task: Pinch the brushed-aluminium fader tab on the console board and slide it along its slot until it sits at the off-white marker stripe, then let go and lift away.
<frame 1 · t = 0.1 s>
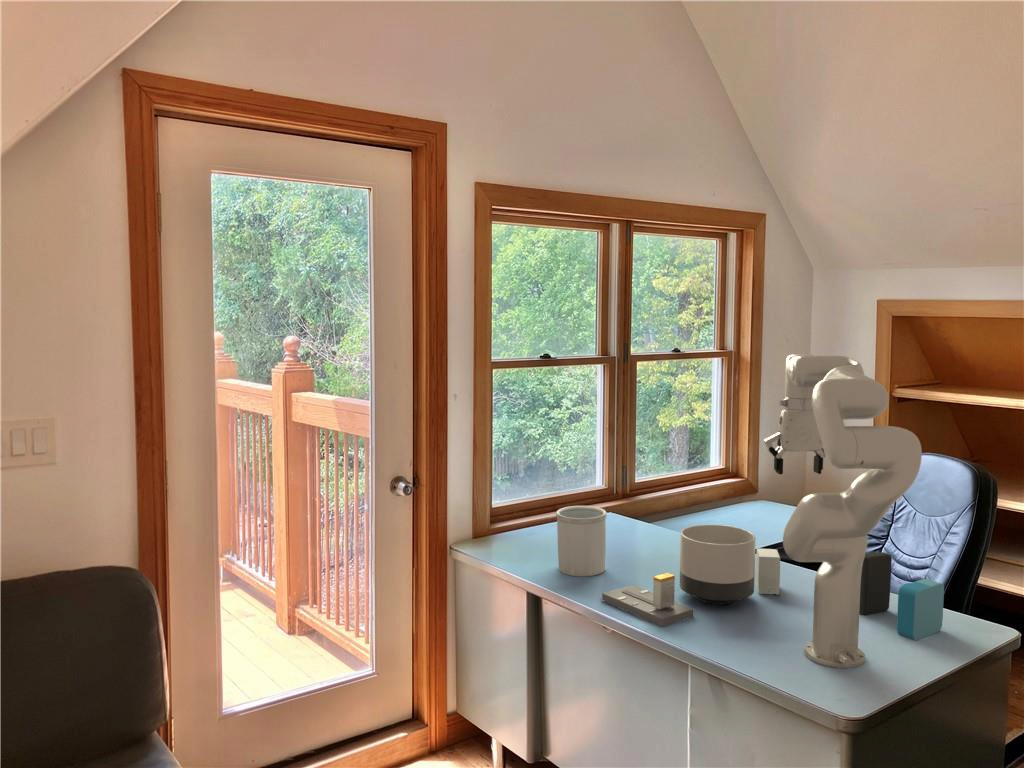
hand: (798, 473, 207), 37 cm above the table, tool pointing down, fingers open, 9 cm apart
planter: (716, 599, 223), on the table
small box: (767, 590, 229), on the table
card reader: (871, 612, 214), on the table
console board: (646, 608, 216), on the table
fader tab: (663, 591, 210), point 6 cm above the table, slide at -6.0 cm
utensil holder: (580, 570, 247), on the table
data package: (919, 633, 200), on the table
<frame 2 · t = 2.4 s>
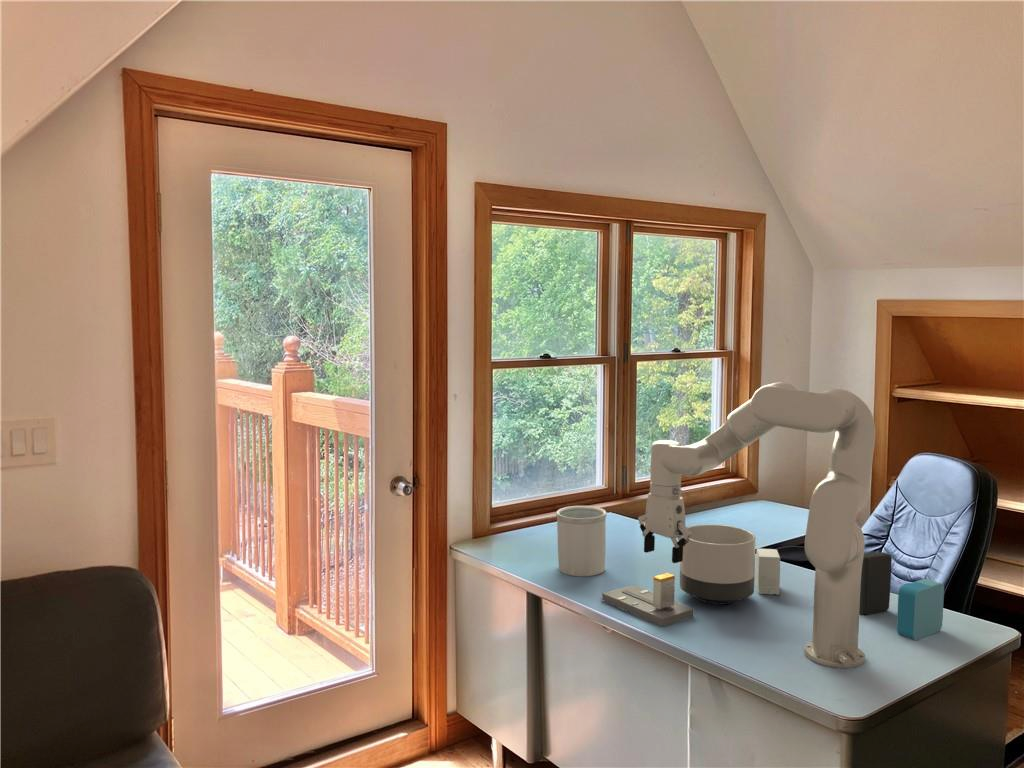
hand: (662, 556, 210), 15 cm above the table, tool pointing down, fingers open, 9 cm apart
nothing on the table moved.
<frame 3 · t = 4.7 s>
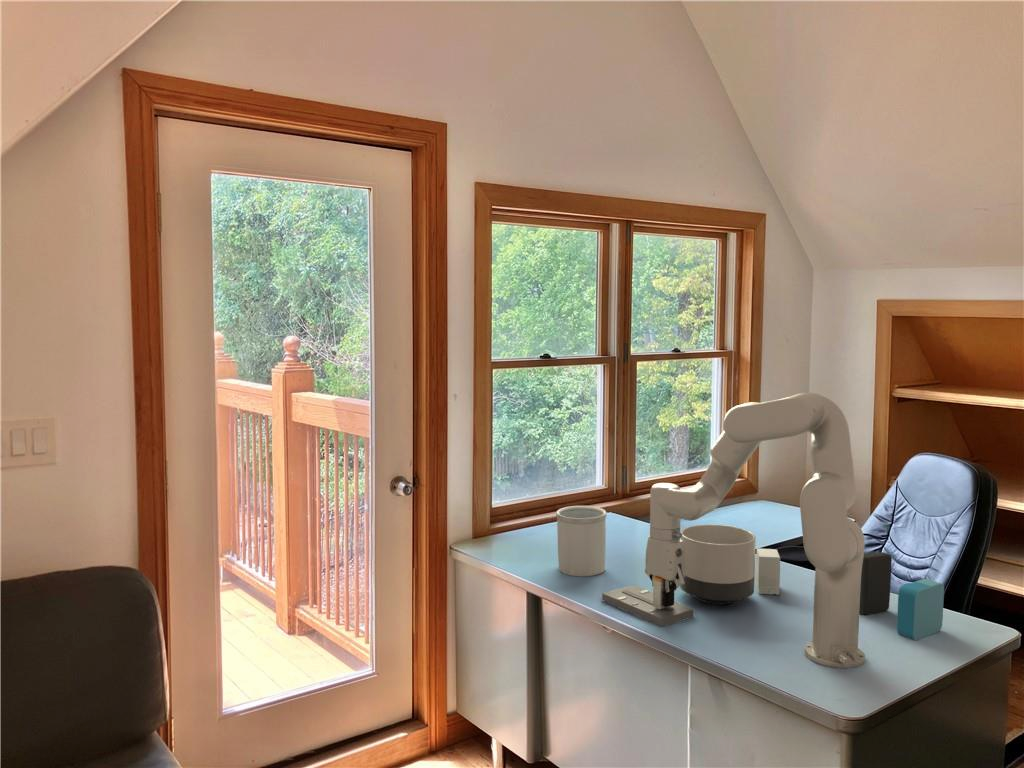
hand: (663, 603, 211), 3 cm above the table, tool pointing down, fingers closed on fader tab, 2 cm apart
fader tab: (663, 591, 210), point 6 cm above the table, slide at -6.0 cm, touching gripper
everything else where it was.
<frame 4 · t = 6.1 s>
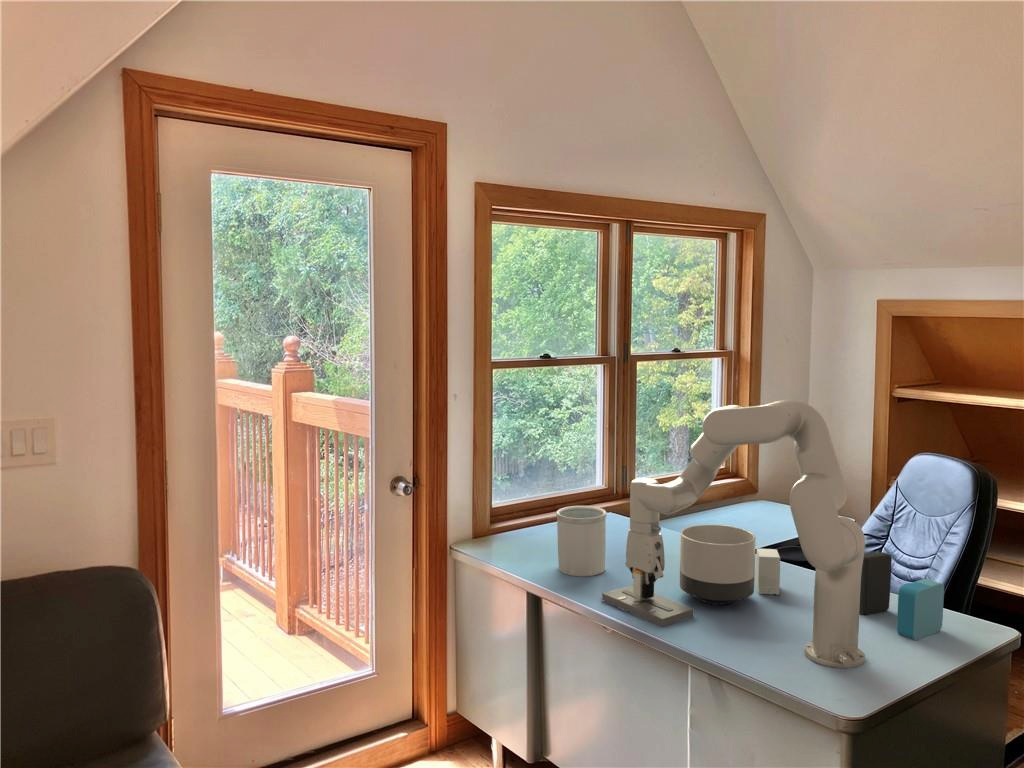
hand: (643, 595, 217), 3 cm above the table, tool pointing down, fingers closed on fader tab, 2 cm apart
fader tab: (643, 583, 216), point 6 cm above the table, slide at 1.2 cm, touching gripper
everything else where it was.
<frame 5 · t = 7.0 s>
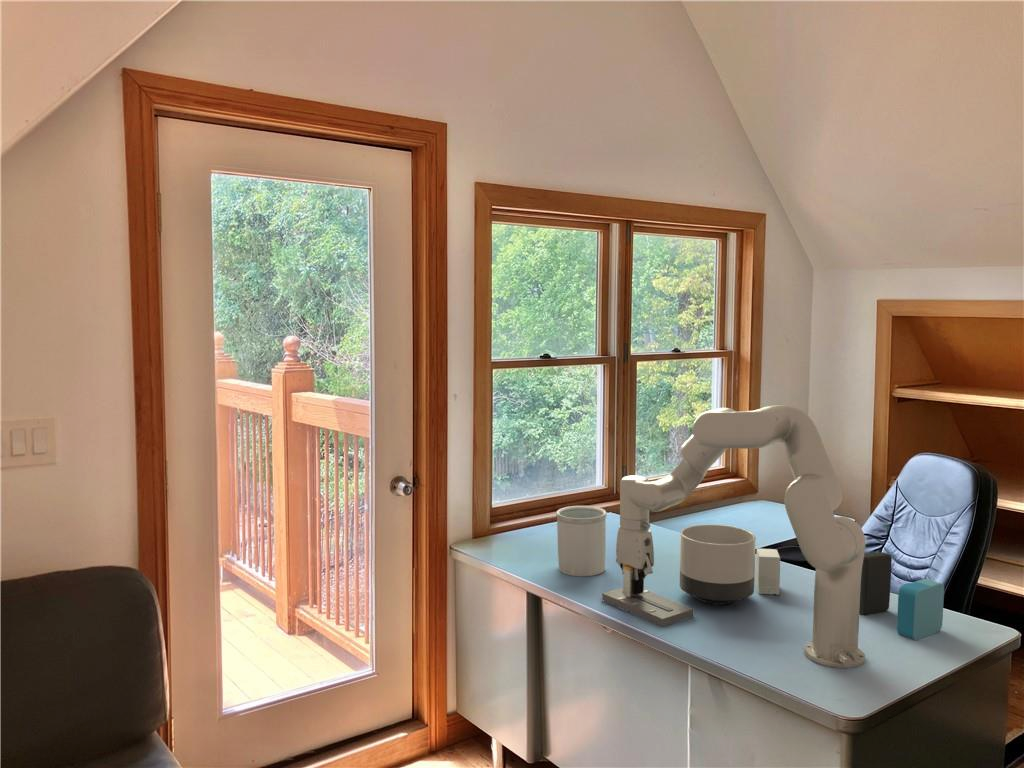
hand: (633, 591, 220), 3 cm above the table, tool pointing down, fingers closed on fader tab, 2 cm apart
fader tab: (633, 579, 219), point 6 cm above the table, slide at 4.9 cm, touching gripper
everything else where it was.
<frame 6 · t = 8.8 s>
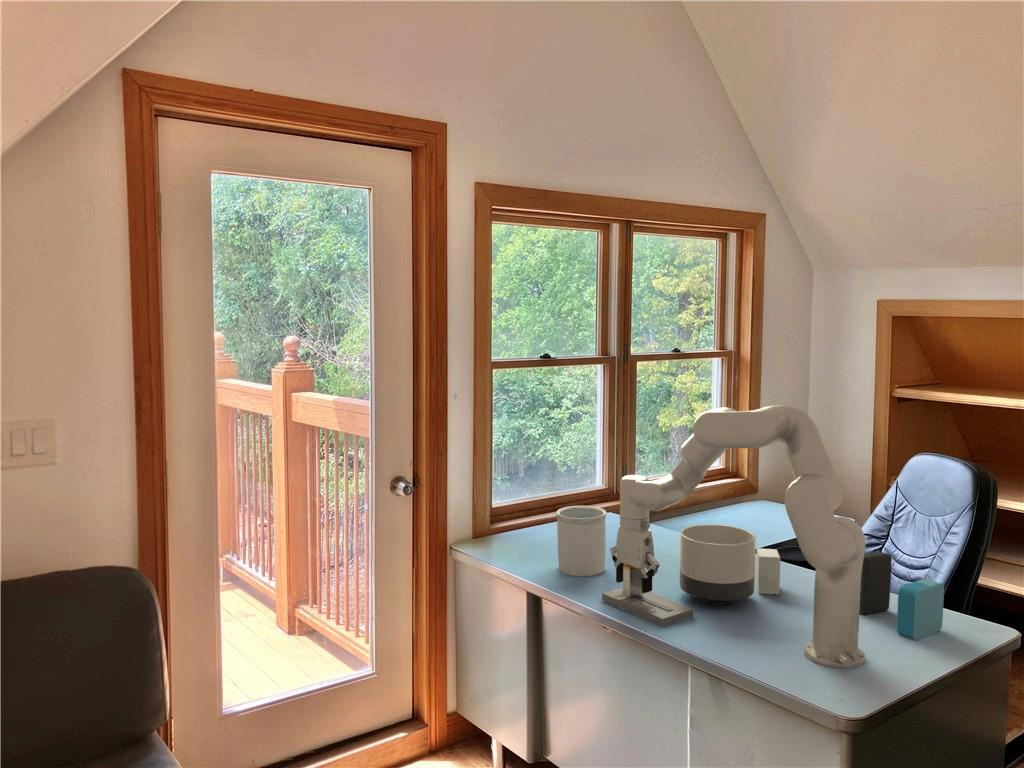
hand: (633, 586, 219), 4 cm above the table, tool pointing down, fingers open, 9 cm apart
fader tab: (633, 579, 219), point 6 cm above the table, slide at 5.0 cm
everything else where it was.
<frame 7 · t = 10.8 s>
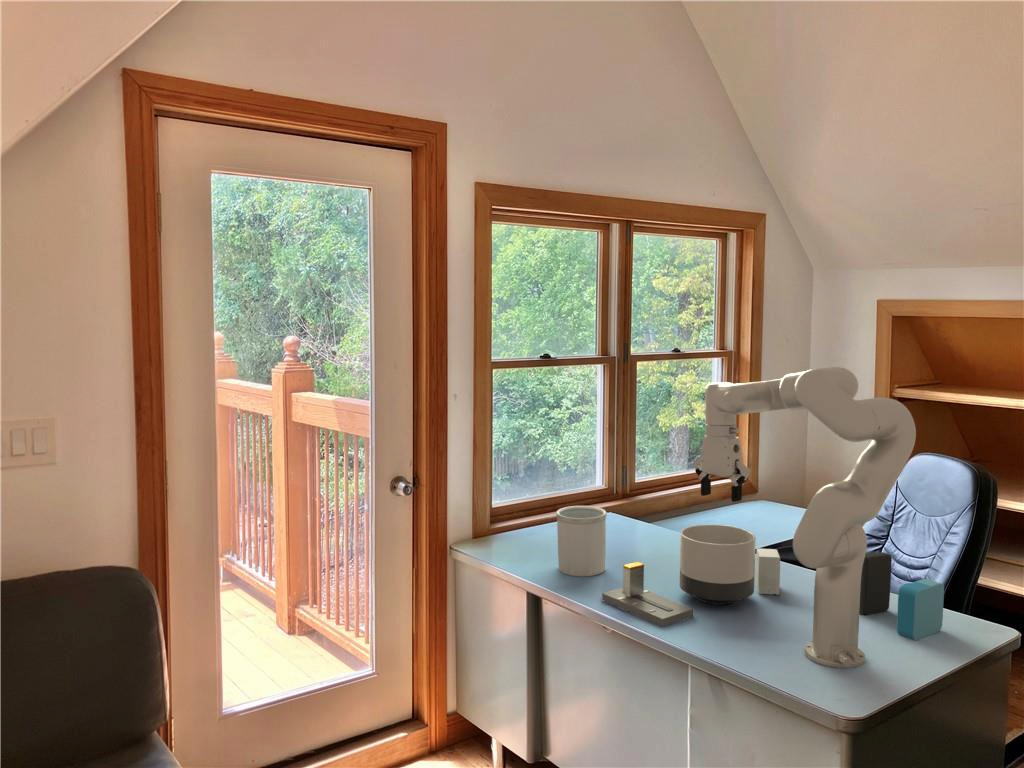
hand: (720, 497, 212), 29 cm above the table, tool pointing down, fingers open, 9 cm apart
nothing on the table moved.
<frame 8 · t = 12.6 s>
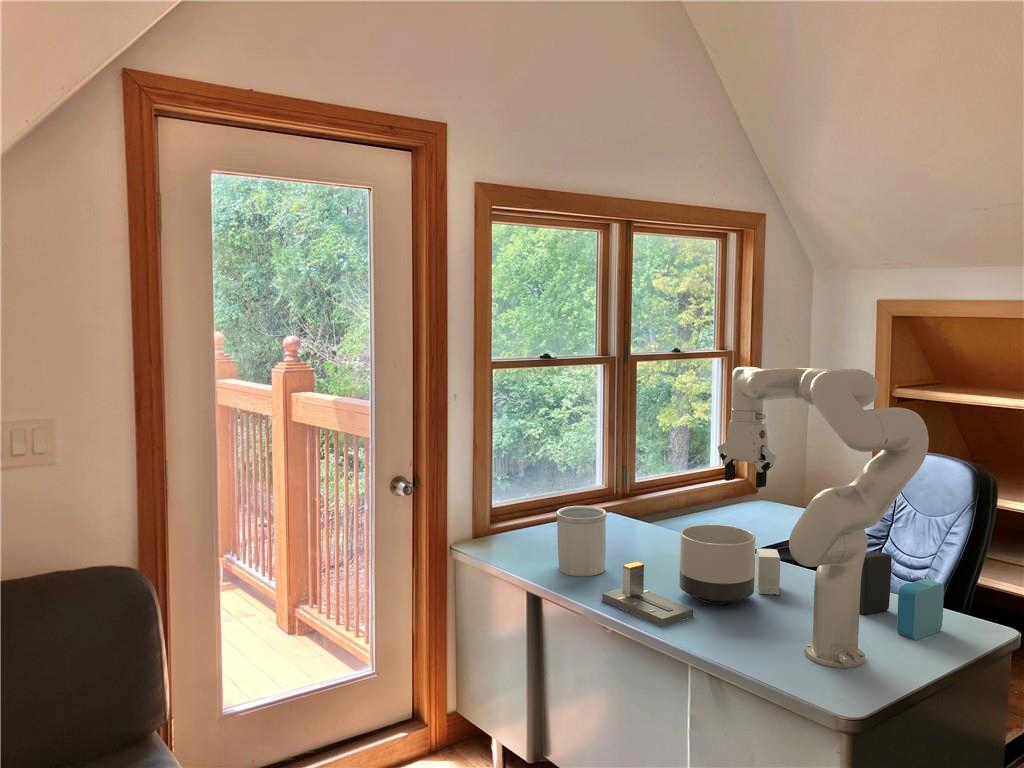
hand: (745, 483, 211), 33 cm above the table, tool pointing down, fingers open, 9 cm apart
nothing on the table moved.
at the end: fader tab slide at 5.0 cm; the gripper is holding nothing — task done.
